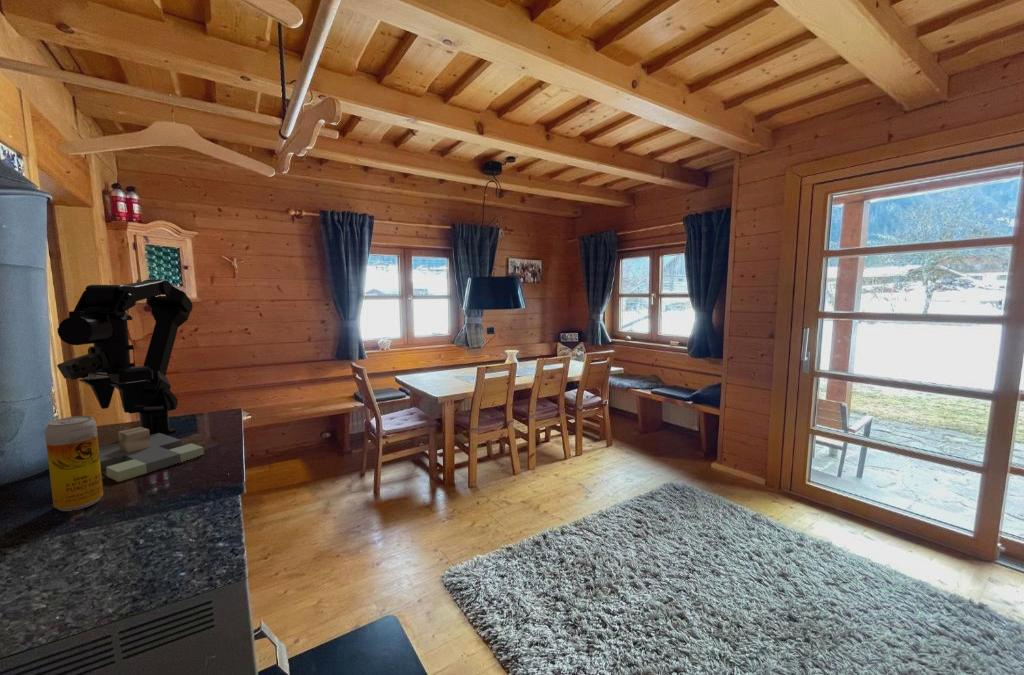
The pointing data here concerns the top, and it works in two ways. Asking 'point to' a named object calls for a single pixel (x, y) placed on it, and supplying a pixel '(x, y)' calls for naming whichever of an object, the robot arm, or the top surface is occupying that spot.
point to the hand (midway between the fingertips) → (116, 410)
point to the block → (134, 439)
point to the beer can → (74, 462)
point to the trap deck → (145, 457)
